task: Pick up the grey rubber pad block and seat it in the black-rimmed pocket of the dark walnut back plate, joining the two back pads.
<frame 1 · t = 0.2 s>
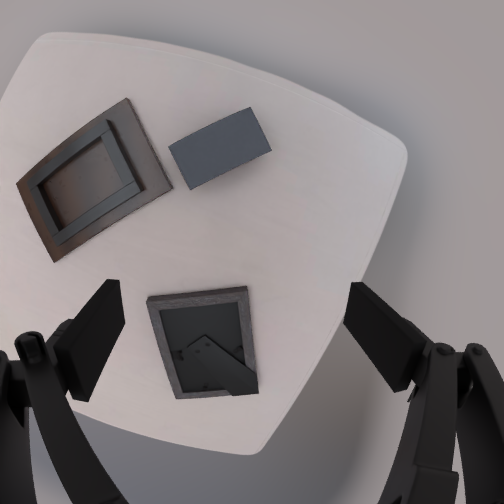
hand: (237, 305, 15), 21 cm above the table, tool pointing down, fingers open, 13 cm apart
back plate: (85, 183, 31), on the table
pad block: (219, 150, 33), on the table
picture frame: (207, 346, 40), on the table
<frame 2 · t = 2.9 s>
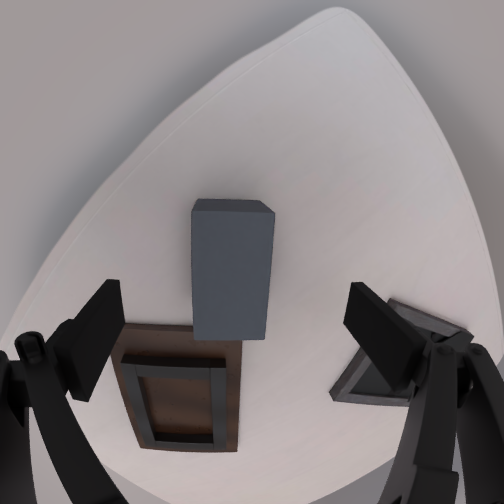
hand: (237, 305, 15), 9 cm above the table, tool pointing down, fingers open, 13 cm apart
back plate: (180, 399, 28), on the table
pad block: (227, 253, 24), on the table
picture frame: (407, 359, 31), on the table
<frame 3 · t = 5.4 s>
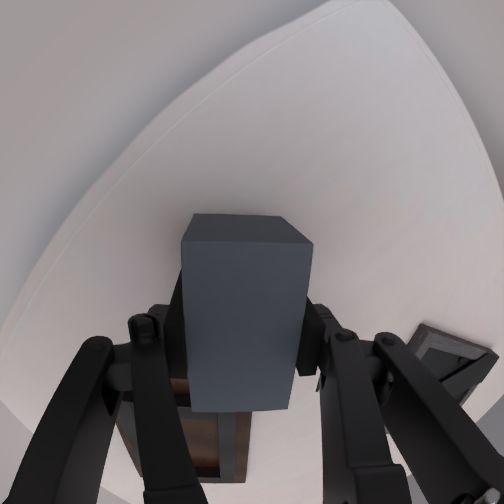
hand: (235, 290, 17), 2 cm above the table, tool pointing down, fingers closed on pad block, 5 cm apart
back plate: (183, 433, 24), on the table
pad block: (235, 287, 18), point 2 cm above the table, touching gripper
picture frame: (431, 385, 26), on the table
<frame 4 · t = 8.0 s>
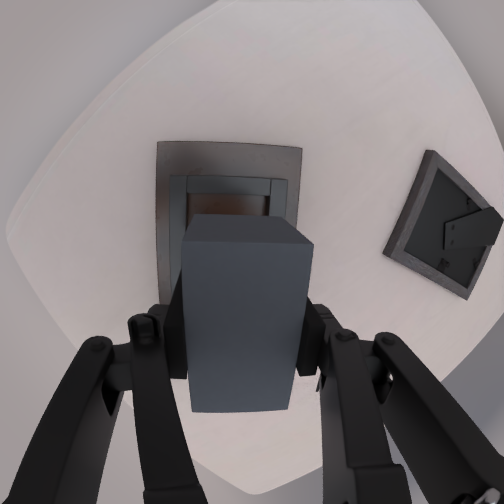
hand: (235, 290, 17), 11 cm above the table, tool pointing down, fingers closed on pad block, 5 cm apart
back plate: (225, 249, 28), on the table
pad block: (235, 288, 18), point 11 cm above the table, touching gripper
picture frame: (449, 231, 31), on the table
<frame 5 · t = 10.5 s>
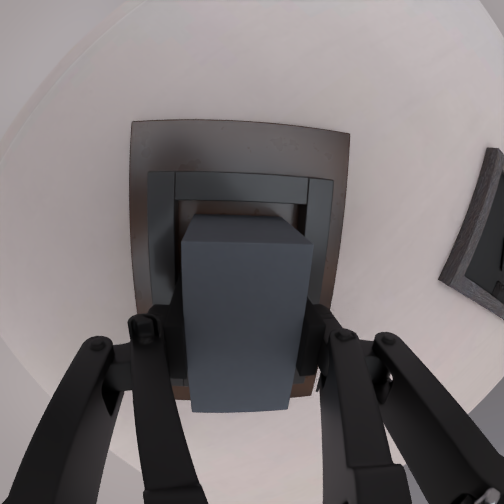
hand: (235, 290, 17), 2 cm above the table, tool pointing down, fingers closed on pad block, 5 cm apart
back plate: (235, 281, 19), on the table
pad block: (235, 288, 18), point 1 cm above the table, touching gripper
picture frame: (503, 248, 22), on the table
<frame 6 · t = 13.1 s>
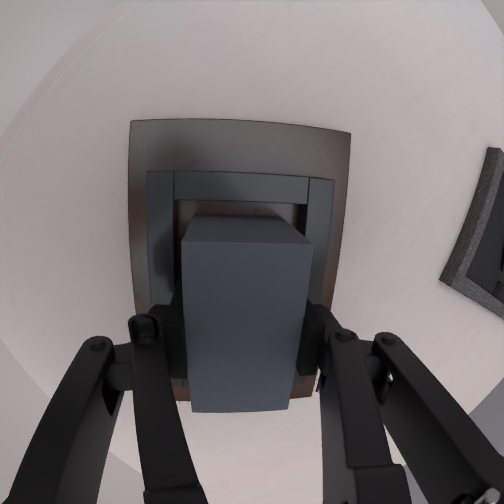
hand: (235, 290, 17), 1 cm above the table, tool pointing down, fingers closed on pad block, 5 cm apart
back plate: (234, 282, 19), on the table
pad block: (235, 288, 18), point 1 cm above the table, touching gripper
when the fingers open (3 cm above the table, at t = 15.4 s): pad block stays where it is, resting on back plate.
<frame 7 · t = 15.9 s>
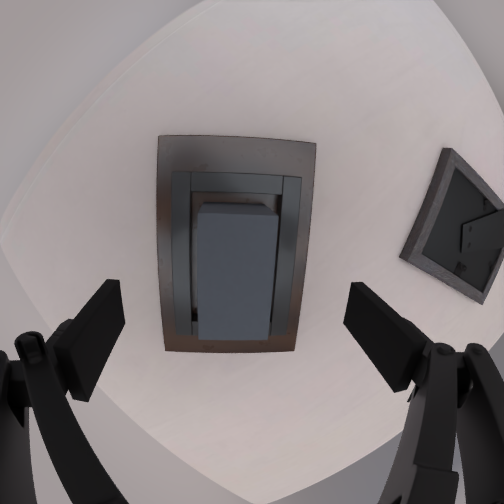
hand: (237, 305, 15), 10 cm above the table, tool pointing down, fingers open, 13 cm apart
back plate: (232, 253, 26), on the table
pad block: (231, 255, 25), point 1 cm above the table, touching back plate
picture frame: (465, 233, 28), on the table
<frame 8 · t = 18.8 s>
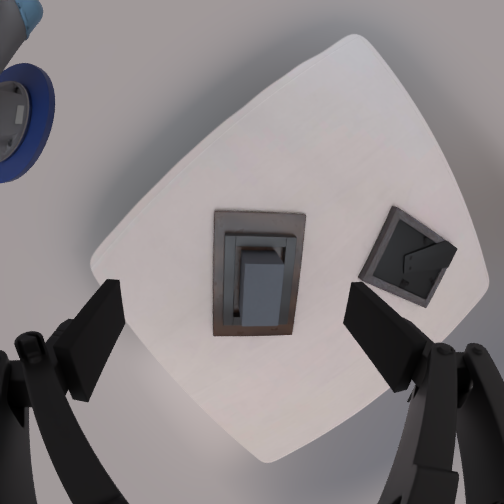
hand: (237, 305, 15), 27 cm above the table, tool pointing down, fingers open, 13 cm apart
back plate: (256, 277, 44), on the table
pad block: (256, 279, 43), point 1 cm above the table, touching back plate
picture frame: (409, 260, 47), on the table
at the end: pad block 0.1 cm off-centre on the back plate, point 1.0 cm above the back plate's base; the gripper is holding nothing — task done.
